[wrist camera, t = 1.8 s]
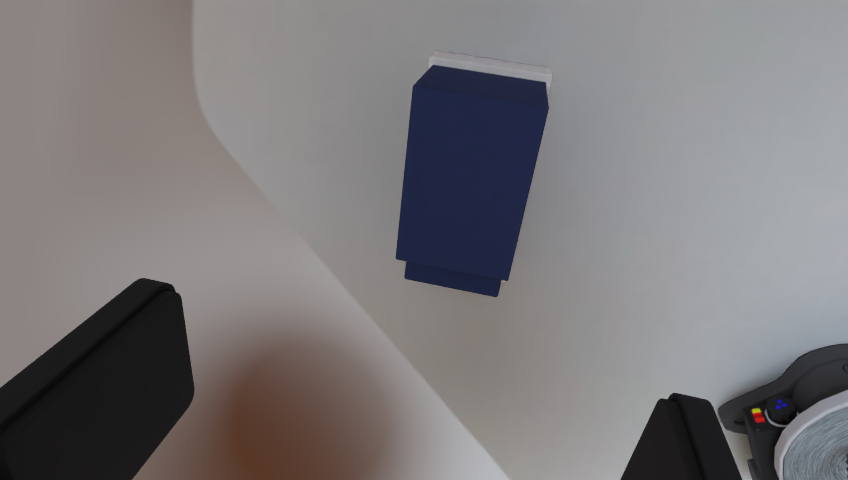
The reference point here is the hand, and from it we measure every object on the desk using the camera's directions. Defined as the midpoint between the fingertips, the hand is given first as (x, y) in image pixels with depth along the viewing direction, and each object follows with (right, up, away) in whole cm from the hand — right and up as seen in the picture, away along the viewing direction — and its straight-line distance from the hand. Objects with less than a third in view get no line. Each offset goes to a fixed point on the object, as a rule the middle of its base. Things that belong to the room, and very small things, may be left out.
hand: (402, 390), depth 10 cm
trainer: (+3, +6, +14) cm, 16 cm away
